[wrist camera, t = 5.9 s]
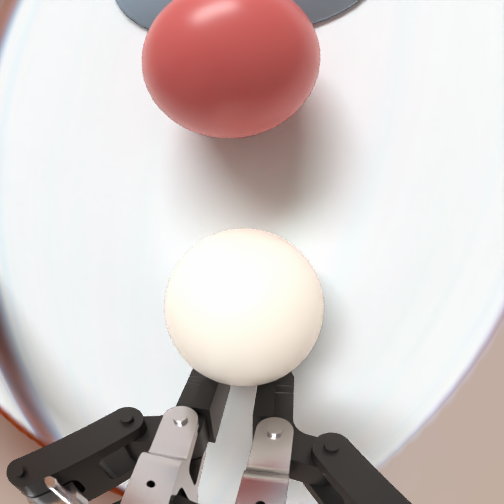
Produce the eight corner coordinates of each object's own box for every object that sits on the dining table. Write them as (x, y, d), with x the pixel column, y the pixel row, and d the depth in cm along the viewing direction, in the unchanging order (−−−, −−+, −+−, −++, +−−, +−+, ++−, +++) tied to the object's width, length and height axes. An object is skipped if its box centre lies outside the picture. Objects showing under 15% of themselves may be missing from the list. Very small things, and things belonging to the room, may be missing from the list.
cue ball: (192, 435, 7) (180, 229, 6) (159, 355, 11) (153, 227, 11) (346, 389, 9) (363, 231, 8) (271, 340, 14) (275, 227, 13)
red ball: (222, 169, 11) (167, 177, 6) (158, 71, 10) (81, 30, 5) (339, 101, 10) (379, 55, 5) (264, 5, 9) (246, -74, 4)
